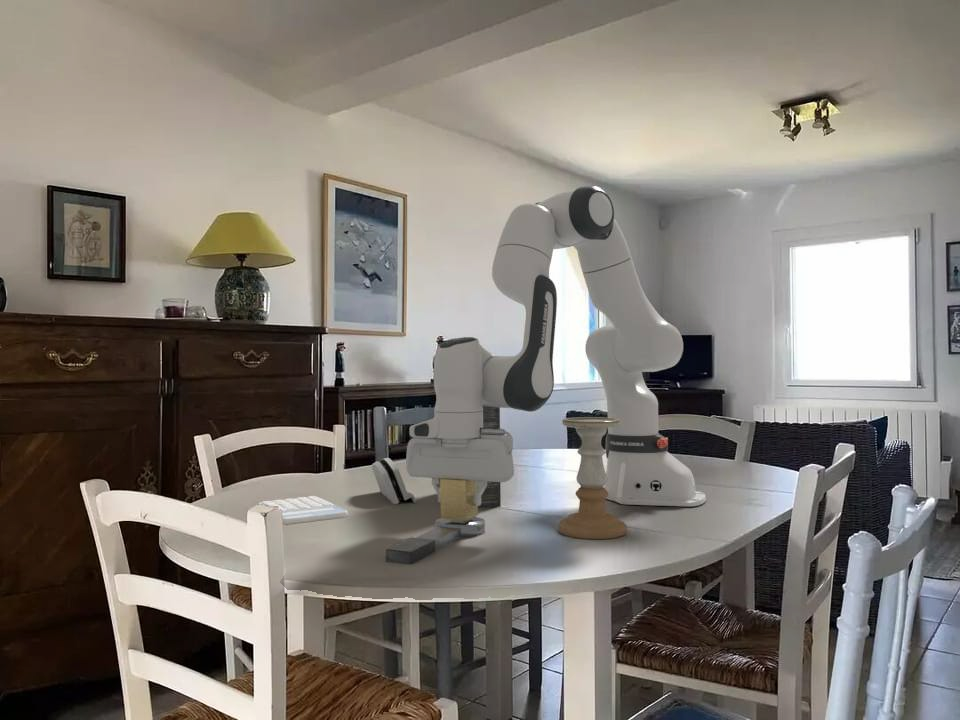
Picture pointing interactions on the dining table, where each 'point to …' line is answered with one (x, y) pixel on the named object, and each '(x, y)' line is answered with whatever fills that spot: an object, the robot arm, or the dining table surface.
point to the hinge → (391, 481)
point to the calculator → (307, 509)
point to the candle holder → (592, 484)
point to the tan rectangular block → (457, 499)
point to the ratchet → (434, 539)
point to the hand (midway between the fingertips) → (459, 504)
